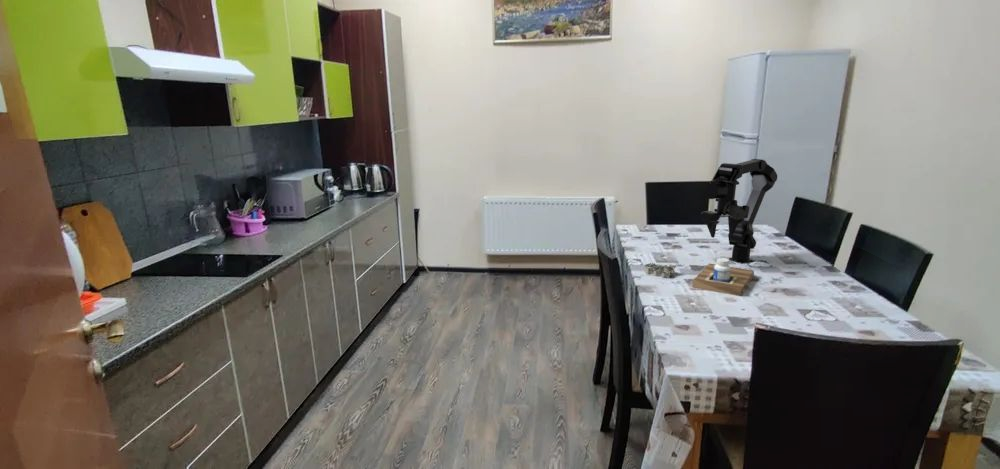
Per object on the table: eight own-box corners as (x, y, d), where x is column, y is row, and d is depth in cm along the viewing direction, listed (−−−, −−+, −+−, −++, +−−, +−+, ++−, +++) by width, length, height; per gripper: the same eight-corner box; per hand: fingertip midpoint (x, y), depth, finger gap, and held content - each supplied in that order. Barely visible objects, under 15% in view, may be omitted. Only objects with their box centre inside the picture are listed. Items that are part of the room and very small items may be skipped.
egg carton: (677, 275, 191) (677, 265, 190) (665, 280, 187) (666, 270, 186) (653, 268, 199) (654, 259, 198) (641, 272, 195) (642, 263, 194)
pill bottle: (712, 281, 183) (715, 256, 180) (728, 283, 181) (731, 257, 178) (712, 286, 178) (714, 261, 176) (729, 288, 176) (731, 262, 174)
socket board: (708, 269, 196) (709, 262, 195) (753, 276, 186) (754, 270, 186) (692, 287, 179) (692, 280, 178) (740, 296, 169) (741, 288, 169)
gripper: (724, 201, 179) (719, 243, 183) (762, 198, 186) (756, 239, 190) (701, 196, 190) (697, 236, 193) (738, 194, 196) (733, 232, 200)
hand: (721, 236), depth 194 cm, fingers open, 9 cm apart
